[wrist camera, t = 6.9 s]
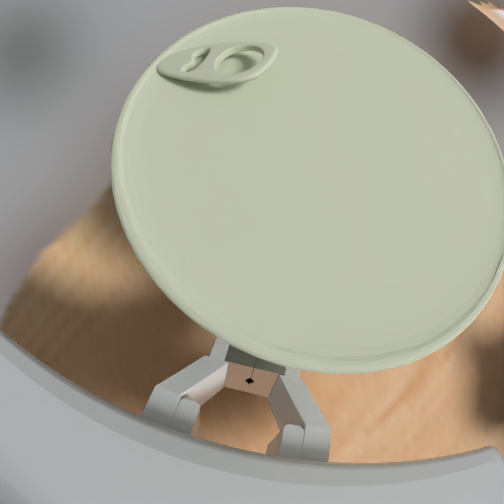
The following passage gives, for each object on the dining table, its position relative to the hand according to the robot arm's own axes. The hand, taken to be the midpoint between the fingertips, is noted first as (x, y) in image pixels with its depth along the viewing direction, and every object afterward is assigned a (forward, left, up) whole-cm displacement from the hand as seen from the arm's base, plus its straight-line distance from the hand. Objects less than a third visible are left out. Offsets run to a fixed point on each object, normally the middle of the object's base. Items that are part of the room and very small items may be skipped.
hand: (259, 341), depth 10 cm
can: (+3, +4, -5) cm, 7 cm away
